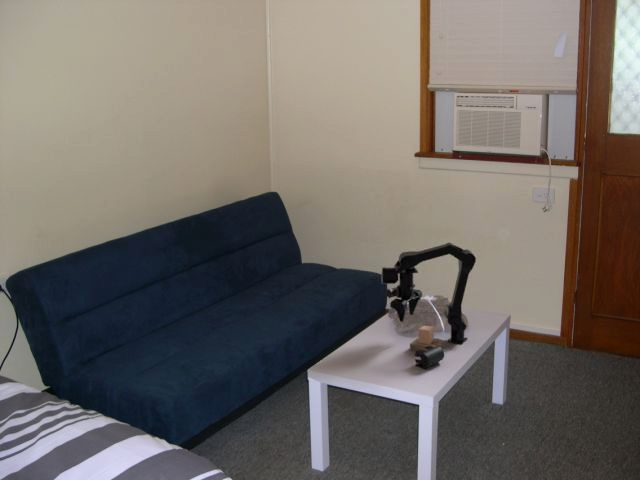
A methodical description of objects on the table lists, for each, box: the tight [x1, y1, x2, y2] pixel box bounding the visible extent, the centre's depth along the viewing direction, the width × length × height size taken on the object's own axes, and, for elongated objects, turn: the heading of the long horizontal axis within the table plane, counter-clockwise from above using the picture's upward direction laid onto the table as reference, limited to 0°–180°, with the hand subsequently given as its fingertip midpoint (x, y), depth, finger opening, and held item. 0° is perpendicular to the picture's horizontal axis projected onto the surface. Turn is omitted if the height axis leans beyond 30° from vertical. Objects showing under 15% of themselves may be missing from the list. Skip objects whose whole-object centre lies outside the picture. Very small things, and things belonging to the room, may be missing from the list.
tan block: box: [409, 336, 443, 352], centre depth 316 cm, size 10×10×3 cm
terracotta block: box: [418, 325, 435, 344], centre depth 315 cm, size 4×4×6 cm
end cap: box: [414, 346, 445, 370], centre depth 300 cm, size 10×7×7 cm
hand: (406, 318), depth 320 cm, fingers open, 9 cm apart
